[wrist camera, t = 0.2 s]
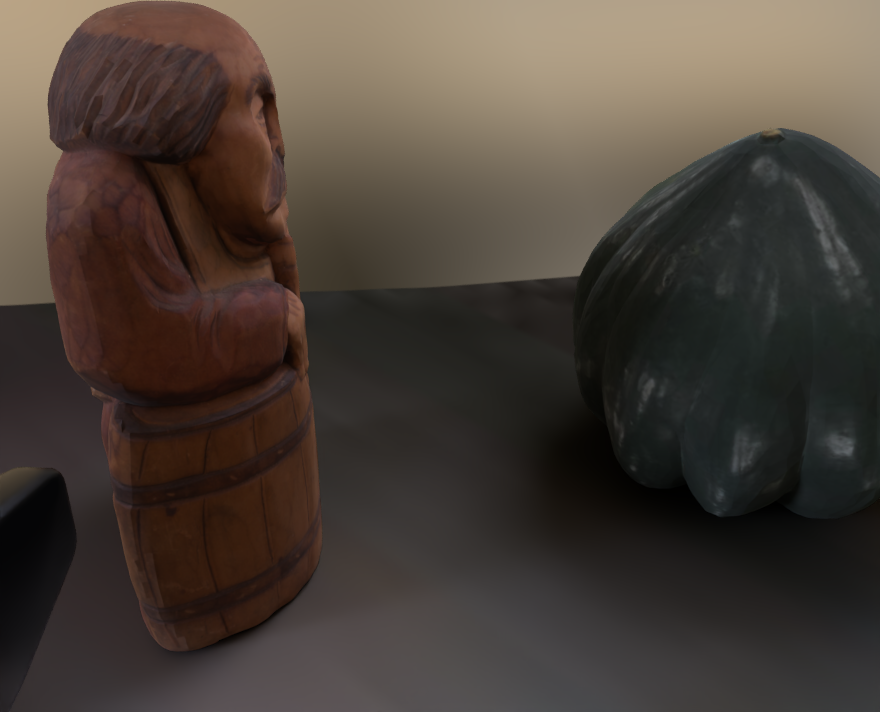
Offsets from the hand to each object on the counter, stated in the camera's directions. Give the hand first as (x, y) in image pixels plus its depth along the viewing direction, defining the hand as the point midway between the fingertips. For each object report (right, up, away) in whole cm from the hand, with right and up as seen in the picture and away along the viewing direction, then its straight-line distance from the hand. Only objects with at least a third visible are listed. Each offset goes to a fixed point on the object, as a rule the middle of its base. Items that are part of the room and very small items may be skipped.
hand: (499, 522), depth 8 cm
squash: (+12, -3, +27) cm, 29 cm away
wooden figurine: (-8, -5, +22) cm, 24 cm away
